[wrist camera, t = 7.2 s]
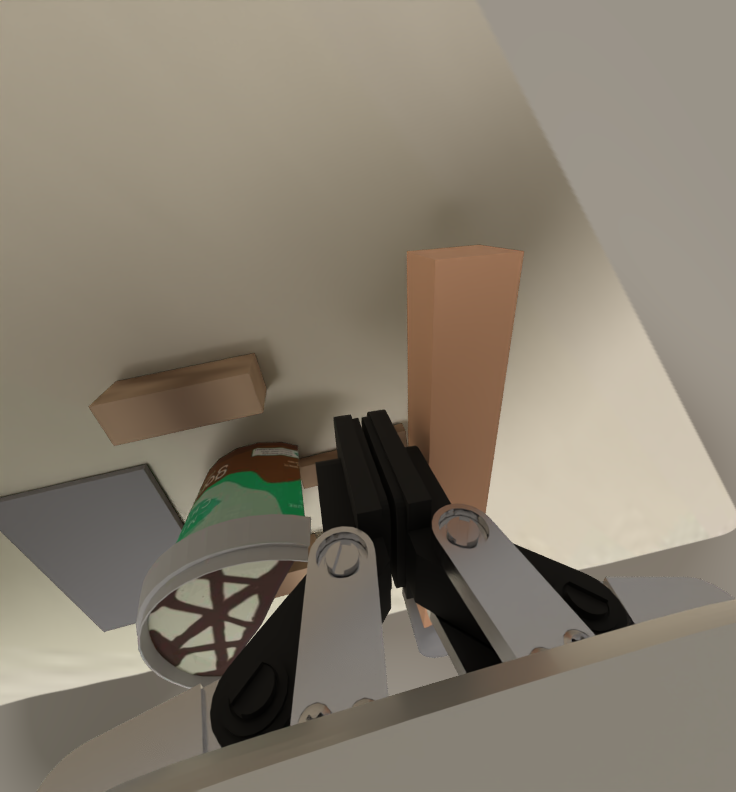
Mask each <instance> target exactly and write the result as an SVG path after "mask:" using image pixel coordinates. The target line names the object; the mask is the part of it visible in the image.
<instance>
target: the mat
mask: <svg viewBox="0 0 736 792" xmlns="http://www.w3.org/2000/svg"><path fill="white" fill-rule="evenodd" d="M183 526H184V525H183V523H182V522H181V520H180V518H179V517H178V515H177V513H176V512H175V510H174V509H173V507H172V505H171V504H170V502H169V500H168V499H167V497H166V496H165V494H164V492H163V491H162V489H161V487H160V486H159V484H158V482H157V481H156V479H155V478H154V476H153V474H152V473H151V471H150V469H149V468H148V466H147V465H146V464H145V465H141V466H136V467H132V468H128V469H123V470H119V471H115V472H110V473H106V474H102V475H97V476H93V477H89V478H84V479H80V480H75V481H71V482H67V483H62V484H58V485H54V486H49V487H45V488H41V489H36V490H32V491H28V492H23V493H19V494H14V495H10V496H6V497H1V498H0V531H1V532H2V533H3V534H4V535H5V536H6V537H7V538H8V539H9V540H10V541H11V542H12V543H13V544H14V545H15V546H16V547H17V548H18V549H19V550H20V551H21V552H22V553H23V554H24V555H25V556H26V557H27V558H28V559H30V560H31V561H32V562H33V563H34V564H35V565H36V566H37V567H38V568H39V569H40V570H41V571H42V572H43V573H44V574H45V575H46V576H47V577H48V578H49V579H50V580H51V581H52V582H53V583H54V584H55V585H56V586H57V587H58V588H59V589H60V590H61V591H62V592H63V593H64V594H65V595H67V596H68V597H69V598H70V599H71V600H72V601H73V602H74V603H75V604H76V605H77V606H78V607H79V608H80V609H81V610H82V611H83V612H84V613H85V614H86V615H87V616H88V617H89V618H90V619H91V620H92V621H93V622H94V623H95V624H96V625H97V626H98V627H99V628H100V629H101V630H102V631H104V632H106V631H109V630H113V629H117V628H120V627H124V626H127V625H131V624H135V623H136V620H137V614H138V607H139V601H140V594H141V590H142V585H143V581H144V579H145V577H146V575H147V573H148V571H149V569H150V568H151V567H152V565H153V564H154V563H155V562H156V560H157V559H158V558H159V557H160V556H161V555H162V554H163V553H164V552H166V551H167V550H168V549H169V548H170V547H171V546H173V545H174V544H176V542H177V539H178V537H179V535H180V533H181V531H182V529H183Z"/></svg>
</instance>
